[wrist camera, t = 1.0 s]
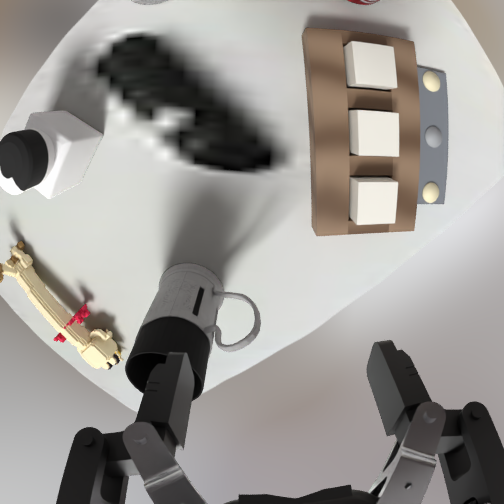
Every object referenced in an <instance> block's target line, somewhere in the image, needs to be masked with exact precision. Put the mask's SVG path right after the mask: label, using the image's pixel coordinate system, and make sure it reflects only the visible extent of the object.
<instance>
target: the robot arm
mask: <svg viewBox="0 0 504 504" xmlns="http://www.w3.org/2000/svg"><path fill="white" fill-rule="evenodd" d="M131 1H133V2H136V3H139V4H144V5H146V4H157V3H162V2H165V1H168V0H131ZM367 377H368V380H369V383H370V386H371V389H372V392H373V395H374V398H375V401H376V403H377V406H378V410H379V413H380V416H381V419H382V422H383V425H384V428H385V431H386V435H387V436H390V435H394V434H395V435H396V438H397V440H396V441H395V443H394V445H393V448H392V450H391V452H390V454H389V456H388V458H387V460H386V463H385V465H384V466H383V468H382V470H381V472H380V474H379V476H378V478H377V479H376V480H375V482H374V483H373V485H372V486H371V488H370V490H369V492H364V491H360V490H352V489H351V485H346V486H340V487H335V488H328V489H323V490H321V491H318V492H315V493H312V494H309V495H306V496H303V497H300V498H287V497H280V496H274V495H268V494H262V495H239V499H238V500H234V501H230V502H227V503H225V504H421V502H422V500H423V497H424V495H425V493H426V490H427V488H428V485H429V483H430V480H431V478H432V475H433V472H434V470H435V467H436V460H435V459H434V456H435V454H438V456H439V460H440V463H441V467H442V471H443V474H444V478H445V482H446V486H447V490H448V494H449V499H450V503H451V504H504V448H503V446H502V443H501V441H500V438H499V436H498V433H497V431H496V429H495V426H494V424H493V421H492V419H491V417H490V415H489V412H488V410H487V409H486V407H485V406H484V405H483V404H481V403H479V402H470V403H468V404H467V405H466V406H465V407H464V408H463V409H462V410H446V409H444V408H443V407H442V406H441V405H440V404H438V403H436V402H432V400H431V399H430V397H429V395H428V392H427V390H426V388H425V386H424V384H423V382H422V380H421V378H420V376H419V375H418V372H417V370H416V368H415V367H414V364H413V362H412V360H411V358H410V356H408V355H407V354H406V353H405V352H404V351H403V350H397V349H396V347H395V346H394V343H393V342H392V341H391V340H387V341H380V342H375V343H374V345H373V347H372V351H371V355H370V358H369V361H368V365H367ZM193 391H194V375H193V372H192V368H191V365H190V361H189V358H188V354H187V353H177V352H169V354H168V356H167V359H166V363H165V364H157V365H156V366H155V368H154V369H153V370H152V371H151V373H150V376H149V379H148V384H147V385H146V388H145V391H144V395H143V398H142V401H141V404H140V408H139V411H138V414H137V418H136V420H135V422H134V423H133V424H131V425H129V426H128V427H127V428H126V429H125V430H124V431H122V432H116V433H107V434H102V433H101V432H100V431H99V430H98V429H96V428H93V427H87V428H84V429H81V430H80V431H79V432H78V433H77V434H76V435H75V437H74V440H73V443H72V447H71V450H70V453H69V456H68V460H67V463H66V467H65V470H64V474H63V478H62V482H61V485H60V490H59V494H58V498H57V502H56V504H125V498H126V492H127V485H128V479H129V476H132V475H141V477H142V479H143V481H144V483H145V484H144V486H145V489H146V491H147V493H148V494H149V496H150V498H151V499H152V501H153V502H154V504H207V502H206V501H205V500H204V498H203V497H202V496H201V495H200V494H199V492H198V491H197V489H196V488H195V487H194V486H193V484H192V483H191V481H190V480H189V479H188V477H187V476H186V475H185V473H184V472H183V470H182V469H181V467H180V466H179V464H178V463H177V461H176V460H175V458H174V457H175V451H176V449H179V450H184V444H185V438H186V432H187V426H188V420H189V414H190V408H191V402H192V397H193Z"/></svg>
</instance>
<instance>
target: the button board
mask: <svg viewBox="0 0 504 504" xmlns="http://www.w3.org/2000/svg"><path fill="white" fill-rule="evenodd" d="M351 41H356V42H364V43H372V44H378V45H385V46H391V47H393V48H394V56H395V66H396V76H397V88H394V89H388V90H381V89H371V88H359V87H347V86H346V73H345V62H344V53H343V47H344V46H346V45H347V44H348V43H350V42H351ZM302 43H303V53H304V64H305V75H306V87H307V101H308V117H309V135H310V159H311V199H312V228H313V230H314V232H315V234H316V236H329V235H346V234H364V233H383V232H402V231H414V227H415V219H416V209H417V199H418V186H419V170H420V100H419V84H418V72H417V62H416V54H415V46H414V42H413V41H408V40H404V39H399V38H394V37H388V36H383V35H377V34H370V33H363V32H355V31H346V30H335V29H320V28H306V29H305V31H304V33H303V34H302ZM350 110H366V111H380V112H391V113H399V157H392V156H359V155H356V154H353V153H351V152H349V120H348V111H350ZM349 176H387V177H389V178H391V179H393V180H395V181H397V182H398V193H397V207H396V218H395V223H392V224H369V225H356V223H355V222H354V221H353V220H352V219H351V218H350V217H349Z"/></svg>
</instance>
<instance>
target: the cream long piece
mask: <svg viewBox="0 0 504 504" xmlns="http://www.w3.org/2000/svg"><path fill="white" fill-rule="evenodd" d="M24 247H25V246H24V244H23V242H22V241H20V242H18V243H17V245H16V246H14V247H13V248H12V249H11V251H10V252H11V253H12V255H13V256H11V258H10V259H9V260H7V261H6V262H5V264H1V263H0V283H1V282H2V280H3V273H4V274H6V275H9V276H10V275H11V276H13V277H15V278H16V279H17V281H18V283H19V284H20V285H21V287H22V288H23V289H24V290H25V292H26V293H27V294H28V296H27V297H28V298H29V299H30V300H31V302H32V303H33V304H34V305H35V306H36V308H37V309H38V310H39V311H40V312H41V313H42V315H43V316H44V317H45V318H46V319H47V320H48V321H49V323H50V324H51V325H52V326H53V327H54V328H55V329H56V330H57V331H58V332H60V333H59V334H58V335H57V336H56V337H55V338H54V341H56V342H57V341H58V340H59V341H60V342H64V341H65V340H66V339H67V340H68V341H69V342H70V343H71V344H72V345H73V346H74V345H75V346H76V347H77V350H78V352H79V353H80V354H81V355H82V356H81V357H82V358H83V359H84V360H86V361H87V362H88V363H89V364H90V365H91V366H92V367H93V368H98V369H99V368H100V367H101V366H102V367H103V368H104V369H106V370H107V369H108V370H109V369H111V368H112V366H113V365H114V364H115V365H118V363H119V361H120V360H121V361H123V360H124V359H122V358H121V353H120V352H119V351H118V350H117V349H118V348H117V345H116V344H117V343H116V342H115V341H114V340H113V339H112V337H113V336H112V334H113V333H112V332H111V331H108V329H106V332H105V331H104V332H103V331H102V330H101V329H100V330H99V329H97V330H96V329H94V330H93V331H92V332H91V333H90V332H89V331H88V330H87V329H86V328H85V327H84V326H83V327H82V326H81V325H80V324H81V323H82V322H83V321H84V319H83V318H84V317H85V318H86V317H87V316H88V315H89V314H90V312H89V311H88V310H87V309H86V308H87V304H85V305H84V306H83V307H82V308H81V309H80V310H79V311H78V312H77V313H76V314H75V315H74V316H72V315H71V314H70V313H69V314H68V313H67V312H66V311H65V310H64V309H63V308H62V306H61V305H60V304H59V303H58V302H57V301H56V300H55V298H54V297H53V296H52V295H51V294H50V293H49V291H48V290H47V289H46V288H45V284H44V283H43V282H42V281H41V279H40V278H39V277H38V276H37V274H36V273H35V269H34V268H33V267H32V266H31V265H32V263H33V262H32V261H33V260H32V258H31V257H30V256H29V255H28V254H24V252H23V251H22V250H23V249H24ZM17 257H18V258H19V260H20V261H19V262H17V261H18V258H17ZM16 263H17V264H16ZM74 318H75V319H76V320H77V321H76V320H75V319H74ZM79 323H80V324H79ZM119 358H120V360H119ZM112 364H113V365H112Z"/></svg>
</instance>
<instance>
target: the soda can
mask: <svg viewBox="0 0 504 504" xmlns="http://www.w3.org/2000/svg"><path fill="white" fill-rule="evenodd" d="M348 1H350V2H353V3H356V4H361V5H369V4H373V3H376V2H378V1H379V0H348Z"/></svg>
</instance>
